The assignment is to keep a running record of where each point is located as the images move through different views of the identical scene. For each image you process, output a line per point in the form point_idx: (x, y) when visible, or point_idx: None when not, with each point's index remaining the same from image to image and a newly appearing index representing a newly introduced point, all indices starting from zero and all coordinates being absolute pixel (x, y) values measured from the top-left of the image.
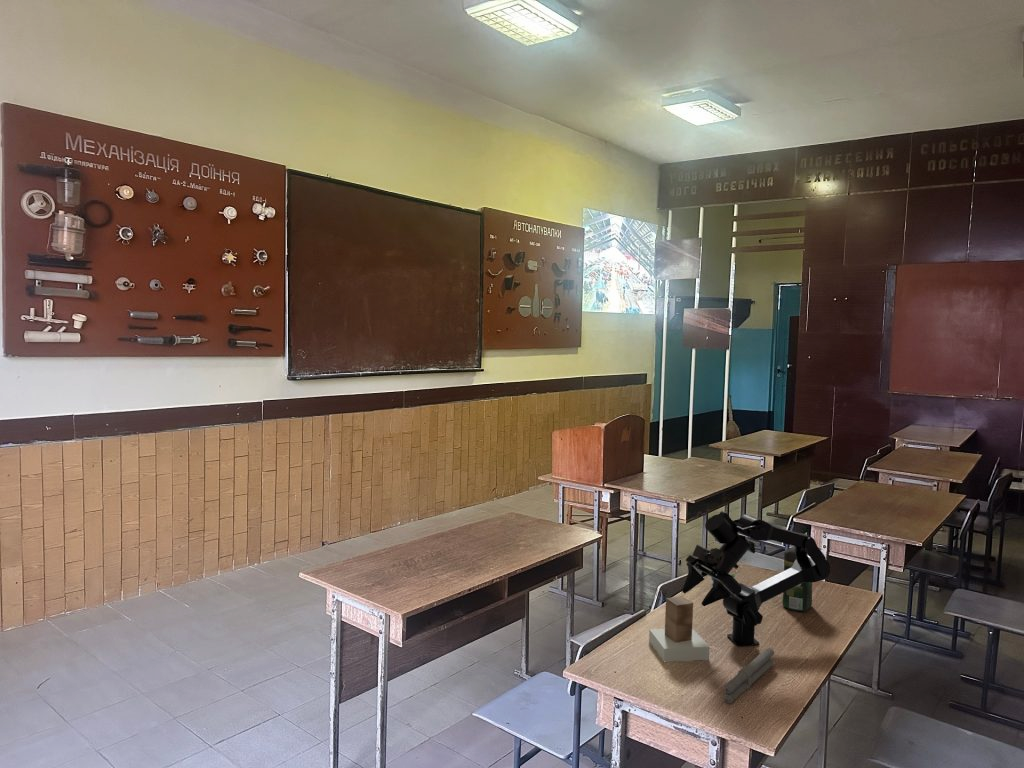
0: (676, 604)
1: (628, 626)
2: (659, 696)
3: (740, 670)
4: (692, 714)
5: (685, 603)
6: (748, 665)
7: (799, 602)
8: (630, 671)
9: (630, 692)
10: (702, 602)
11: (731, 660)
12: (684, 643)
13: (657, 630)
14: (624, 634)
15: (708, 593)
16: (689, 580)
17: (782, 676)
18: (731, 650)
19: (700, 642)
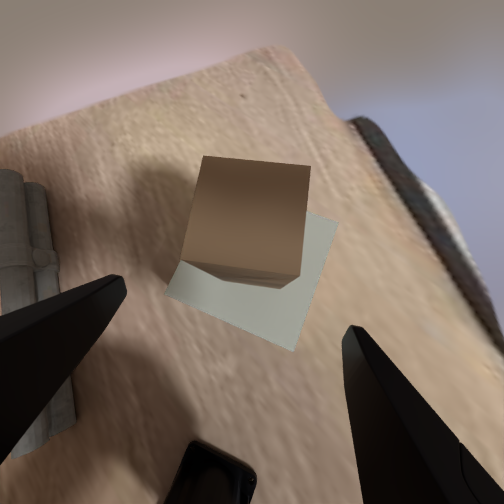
0: (213, 160)
1: (429, 246)
2: (133, 110)
3: (8, 243)
4: (62, 120)
5: (198, 212)
6: (9, 285)
7: None
8: (229, 119)
9: (171, 80)
10: (105, 277)
11: (147, 347)
12: None
13: (321, 237)
14: (387, 207)
15: (14, 328)
16: (407, 448)
17: None
18: (185, 398)
19: (197, 292)
